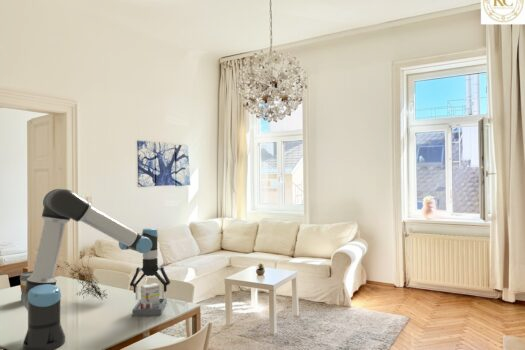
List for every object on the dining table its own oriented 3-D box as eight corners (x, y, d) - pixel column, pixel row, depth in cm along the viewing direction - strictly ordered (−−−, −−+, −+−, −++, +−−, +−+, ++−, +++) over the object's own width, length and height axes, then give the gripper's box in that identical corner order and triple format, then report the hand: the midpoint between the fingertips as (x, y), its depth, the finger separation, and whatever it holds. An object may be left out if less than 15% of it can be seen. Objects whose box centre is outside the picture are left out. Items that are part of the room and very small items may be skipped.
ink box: (143, 310, 197) (143, 287, 197) (140, 308, 201) (140, 285, 201) (159, 307, 202) (159, 284, 203) (156, 304, 206) (156, 282, 206)
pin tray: (161, 314, 194) (161, 303, 194) (132, 316, 192) (132, 304, 192) (166, 303, 211) (166, 293, 212) (140, 304, 210) (140, 294, 210)
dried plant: (130, 270, 214) (92, 231, 240) (72, 287, 191) (38, 242, 217) (122, 314, 224) (87, 272, 250) (66, 335, 200) (34, 286, 226)
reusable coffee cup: (36, 302, 215) (36, 275, 215) (14, 302, 215) (14, 275, 215) (49, 296, 227) (49, 270, 227) (28, 296, 227) (28, 270, 228)
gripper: (175, 255, 207) (175, 295, 207) (127, 257, 205) (127, 297, 204) (173, 258, 200) (173, 299, 199) (123, 259, 197) (123, 301, 197)
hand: (150, 298), depth 202 cm, fingers open, 13 cm apart
